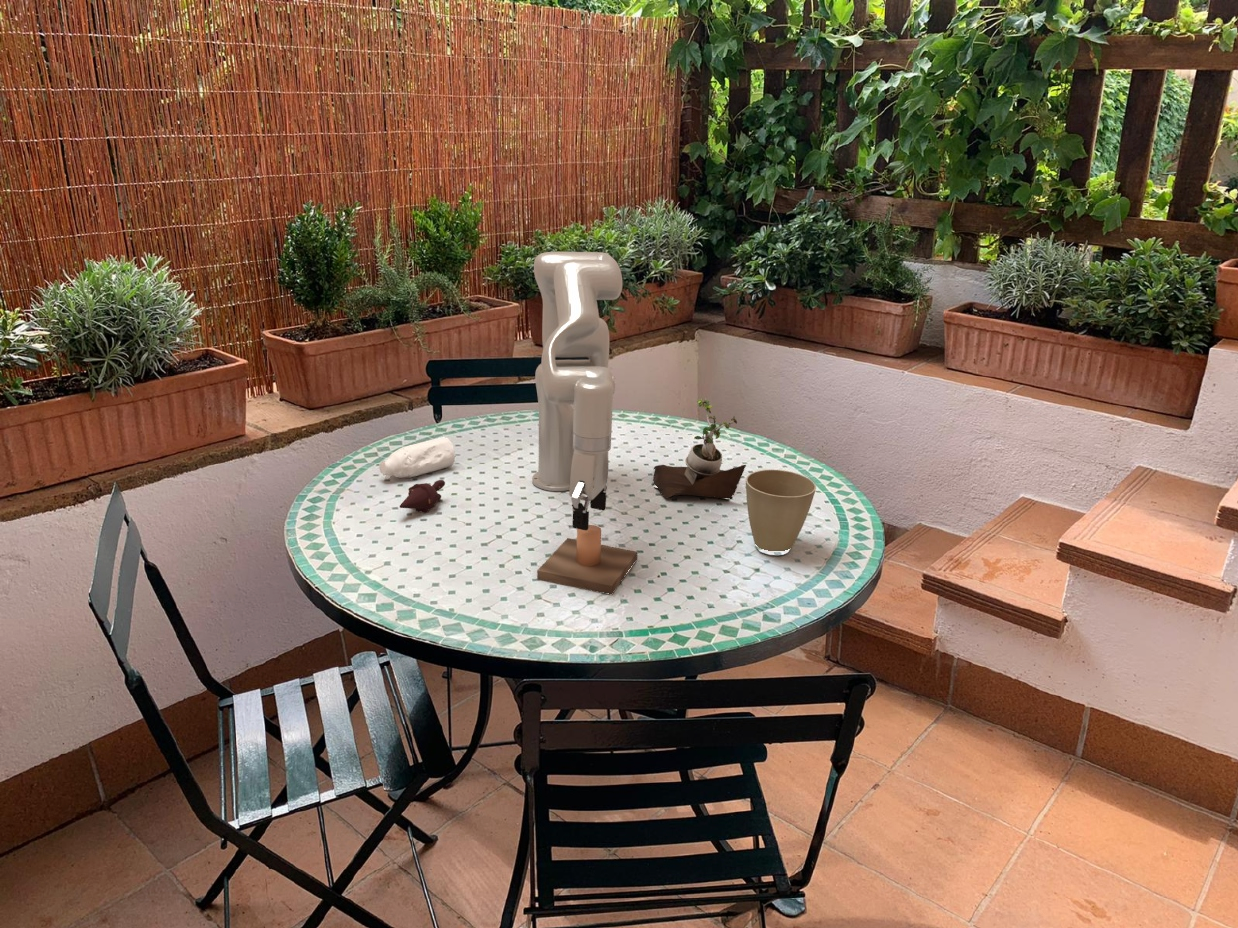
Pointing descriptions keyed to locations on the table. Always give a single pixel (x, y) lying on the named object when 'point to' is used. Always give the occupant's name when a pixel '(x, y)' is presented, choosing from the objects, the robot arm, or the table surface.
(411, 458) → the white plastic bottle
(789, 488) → the plant pot
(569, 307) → the robot arm
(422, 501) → the dark brown tapered piece
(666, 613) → the table surface
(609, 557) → the walnut board
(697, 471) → the potted plant
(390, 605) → the table surface
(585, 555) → the terracotta cylinder
